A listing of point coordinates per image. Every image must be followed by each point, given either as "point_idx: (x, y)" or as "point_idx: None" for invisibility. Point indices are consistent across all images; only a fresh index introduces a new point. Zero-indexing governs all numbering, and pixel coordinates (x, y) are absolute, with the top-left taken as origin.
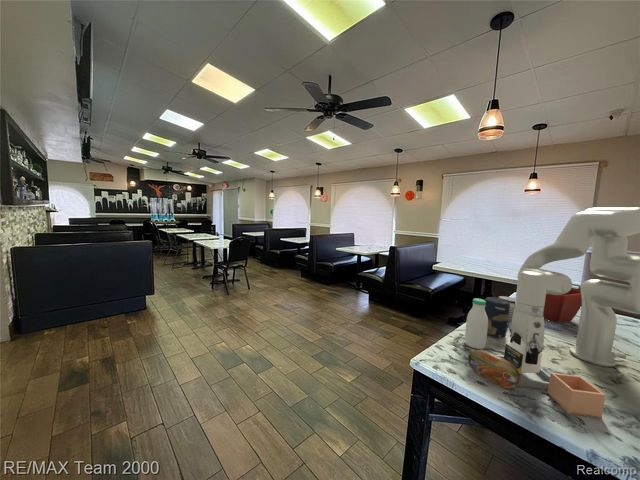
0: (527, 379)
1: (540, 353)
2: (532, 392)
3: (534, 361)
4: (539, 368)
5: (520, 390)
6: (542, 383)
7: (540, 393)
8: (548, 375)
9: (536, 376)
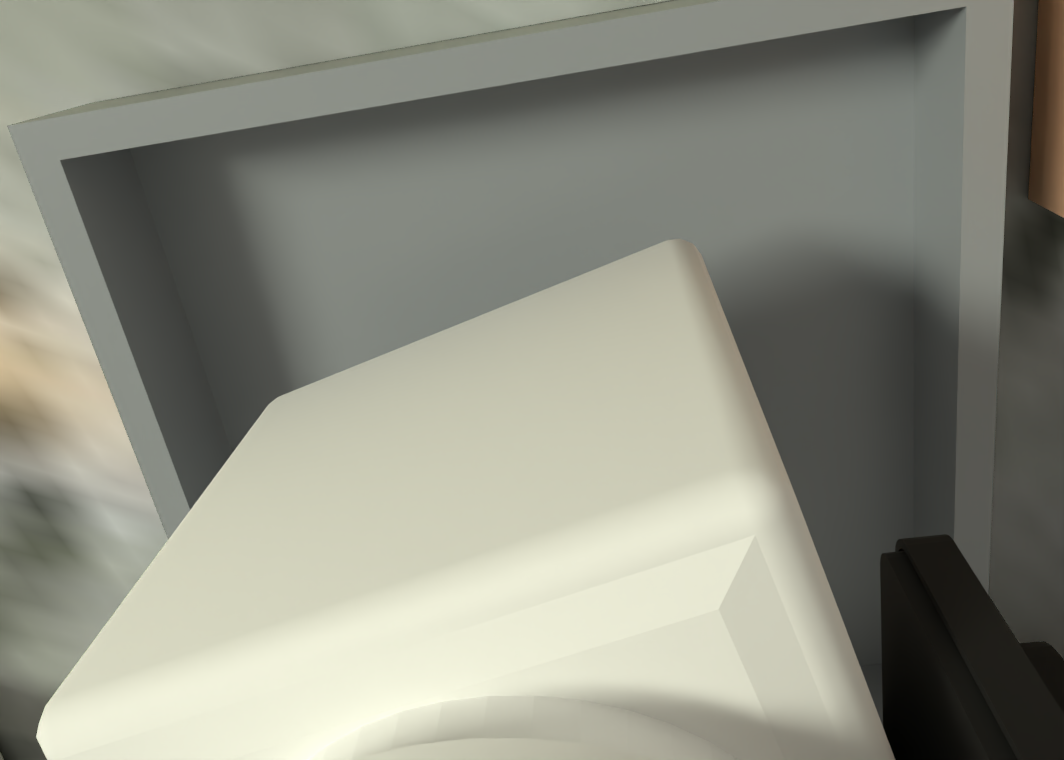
0: None
1: (811, 555)
2: (1045, 430)
3: (1054, 693)
4: (710, 286)
5: (1025, 572)
6: (990, 296)
7: (1049, 319)
8: (668, 34)
9: (548, 174)
